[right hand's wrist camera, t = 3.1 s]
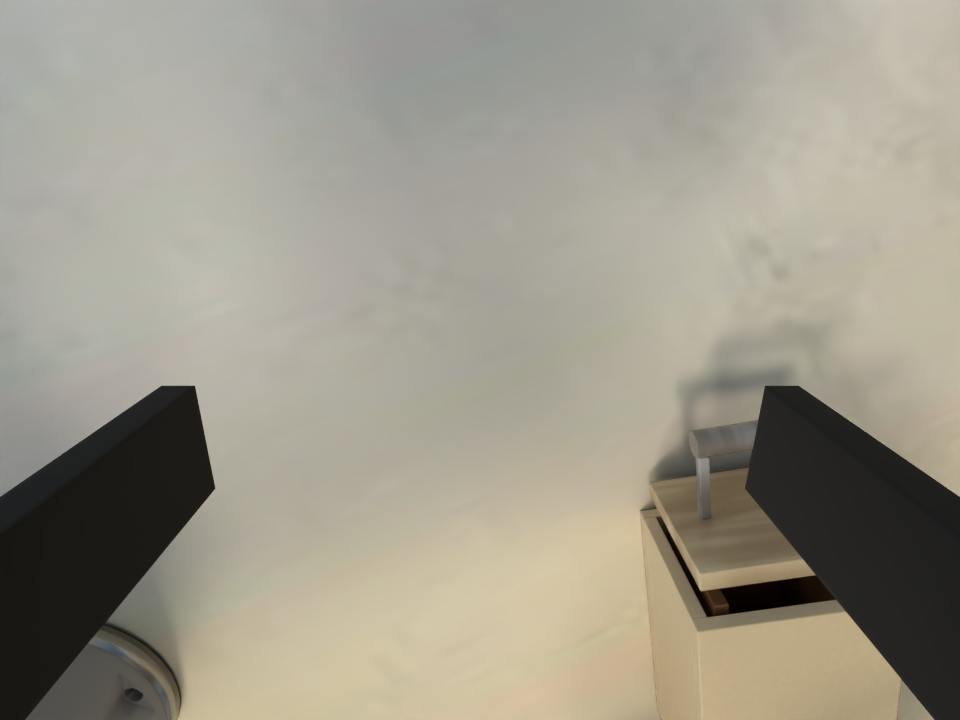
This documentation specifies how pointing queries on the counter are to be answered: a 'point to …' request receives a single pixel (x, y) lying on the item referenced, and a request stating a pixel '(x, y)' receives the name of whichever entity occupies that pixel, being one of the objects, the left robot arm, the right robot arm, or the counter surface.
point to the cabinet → (757, 654)
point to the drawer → (730, 534)
